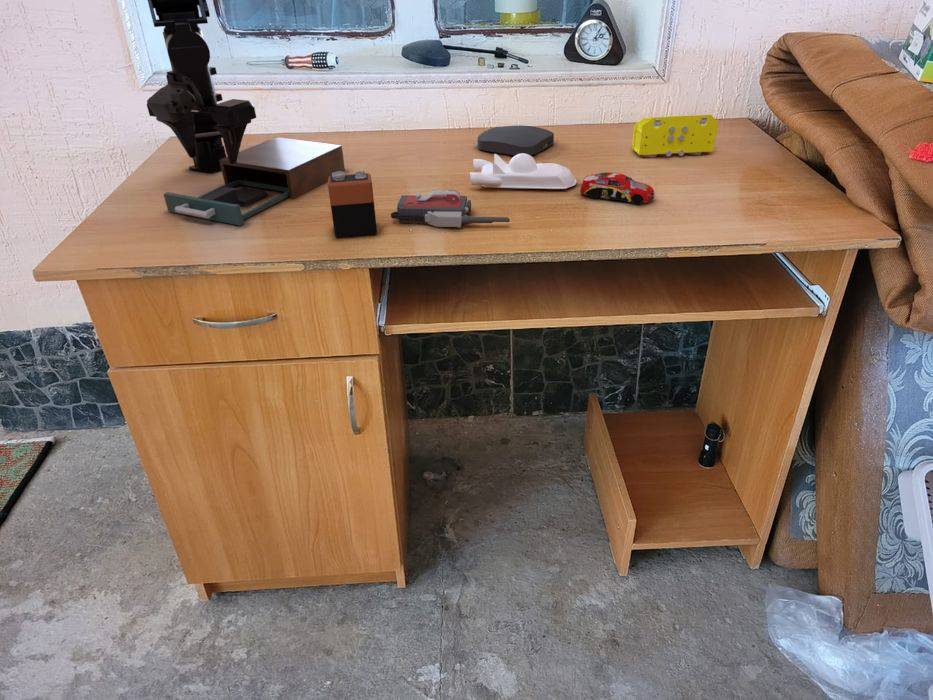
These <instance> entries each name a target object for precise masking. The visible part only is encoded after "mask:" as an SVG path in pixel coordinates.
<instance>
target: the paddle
mask: <svg viewBox="0 0 933 700" xmlns="http://www.w3.org/2000/svg"><path fill="white" fill-rule="evenodd" d="M268 195H269V194H268V190H264V189H258V188H251V187H241V188H239V189H236V188H234V187H232V188H228V187H224V188H221V189H219V190H217V191H215V192H212V193H210V194H208V195H206V196H204V197H201V198H203V199H208V200H214V201H219V202H225V203H230V204H236V205H240V207H248V206H250V205H253V204H255V203H257V202H259V201H261V200H263V199H265V198H267V197H269V196H268Z"/></svg>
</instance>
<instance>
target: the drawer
mask: <svg viewBox="0 0 933 700" xmlns="http://www.w3.org/2000/svg"><path fill="white" fill-rule="evenodd" d="M238 185H242V186H248V187H254V188H260V189H266V190H273V191H277V192H283V193H281V194H279V195H277V196H275V197H273V198H271V199H269V200H267V201H265V202H263V203H261V204H259V205H257V206H255V207H253V208H251V209H250V210H248V211H245V212H243V213H242V210H241V206H240V205H236V204H230V203H225V202H219V201H214V200H208V199H203V198H201V197H204V196H206V195H208V194H210V193H212V192H215V191H217V190H219V189H221V188H224V187H228V188H234V187H236V186H238ZM163 198H164V201H165V205H166V208H167V211H168V212H170V213H175V214H180V215H184V216H189V217H193V218H200V219H204V220H209V221H215V222H220V223H224V224H229V225H235V226H241V225H243V224H244V223H245V222H244V220H246V219H249V218H250V217H252V216H254V215H256V214H258V213H259V212H261V211H263V210H266V209H267V208H269V207H272V206H273V205H275V204H277V203H279V202H281V201H283V200H285V199H287V198H290V195H289V189H288V186H283V185H277V184H270V183H264V182H258V181H252V180H248V179H247V180H240V179H238V180H235V181H233V182H231V183H229V184H226V185H225V184H224V185H222V186H219V187H217V188H215V189H213V190H211V191H208V192H206V193H204V194H202V195H199V196H197V197H196V196H192V195H185V194H181V193H175V192H169V191H167V192H164V193H163Z"/></svg>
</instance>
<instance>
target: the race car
mask: <svg viewBox="0 0 933 700" xmlns="http://www.w3.org/2000/svg"><path fill="white" fill-rule="evenodd" d="M579 192H580V193H581V194H583V195H585V196H587V197H588V196H589V197H590V198H591V199H592V200H597V199H599V198H600V199H606V200H614V201H621V202H629V203H632V204H633V205H635V206H639V205H641V204H642V203H643V204H644V203H649V202H651V201H653V200H654V199H655V196H656V195H655V194H656V193H655V190H654V188H653V187H652V186H651V185H650V184H647V183H644V182H640V181H637V180H634V179H632V177H629V176H628V175H625V174H624V173H619V172H599V173H595V174H588V175H586V176H584V178H583V180H582V182H581V184H580V189H579Z"/></svg>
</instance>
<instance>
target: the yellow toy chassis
mask: <svg viewBox="0 0 933 700" xmlns="http://www.w3.org/2000/svg"><path fill="white" fill-rule="evenodd" d="M718 126H719V121H718V120H717V119H716V117H714V116H713V115H712V114H694V115H693V114H692V115H691V114H690V115H674V116H673V115H671V116H653V117H644V118H642V119H640V120H639V121H638V122H636V123H635V124H634V125H633V135H632V142H631V149H632V150H634V152H635V153H637V155H638V156H642V157H644V158H656V157H658V155H665V157H669V158H670V157H671V155H673V154H677V155H678V156H680V157H682V156H684V155H685V154H687V155H690V156H700V155H702V153H708V152H709V153H710V152H714V148H715V143H716V138H717V132H718Z"/></svg>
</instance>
